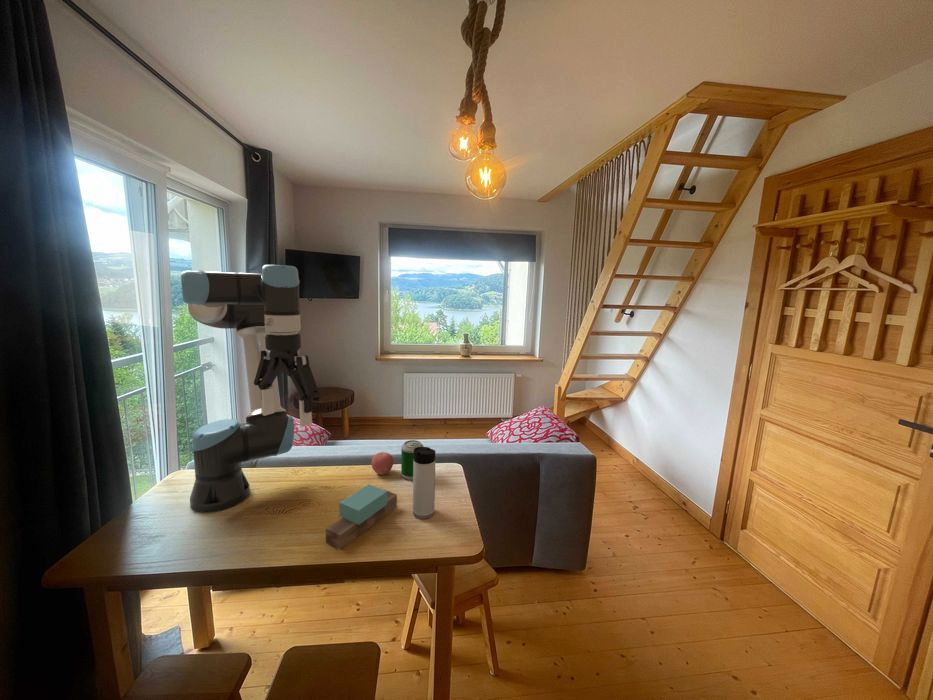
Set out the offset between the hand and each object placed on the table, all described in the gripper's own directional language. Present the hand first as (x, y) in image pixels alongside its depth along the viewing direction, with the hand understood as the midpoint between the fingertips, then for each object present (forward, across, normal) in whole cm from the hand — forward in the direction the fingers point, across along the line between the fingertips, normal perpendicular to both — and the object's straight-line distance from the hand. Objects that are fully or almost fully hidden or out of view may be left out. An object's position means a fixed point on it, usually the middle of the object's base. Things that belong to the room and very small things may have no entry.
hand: (286, 419), depth 91 cm
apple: (+33, -3, +39) cm, 51 cm away
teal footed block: (+32, +11, +14) cm, 37 cm away
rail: (+32, +11, +14) cm, 37 cm away
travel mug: (+32, +23, +27) cm, 48 cm away
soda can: (+33, +7, +43) cm, 54 cm away
